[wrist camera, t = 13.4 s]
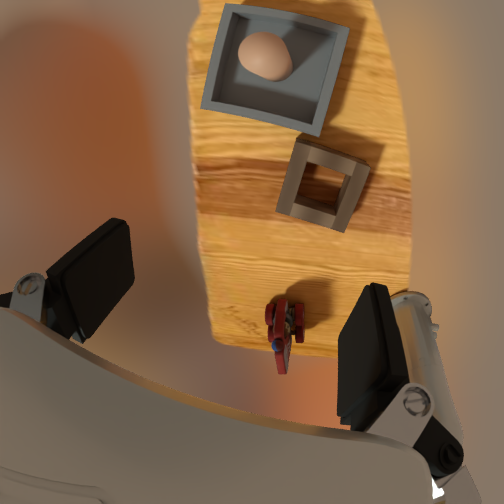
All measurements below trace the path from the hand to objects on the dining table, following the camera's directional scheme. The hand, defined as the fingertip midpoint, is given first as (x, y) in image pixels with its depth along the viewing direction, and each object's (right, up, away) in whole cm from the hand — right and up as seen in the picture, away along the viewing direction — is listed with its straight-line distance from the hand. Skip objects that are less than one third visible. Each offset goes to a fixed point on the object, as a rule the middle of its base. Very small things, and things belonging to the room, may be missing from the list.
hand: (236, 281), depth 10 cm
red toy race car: (+7, -11, +42) cm, 44 cm away
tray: (+4, +25, +19) cm, 31 cm away
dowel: (+4, +25, +18) cm, 31 cm away
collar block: (+10, +11, +26) cm, 30 cm away
